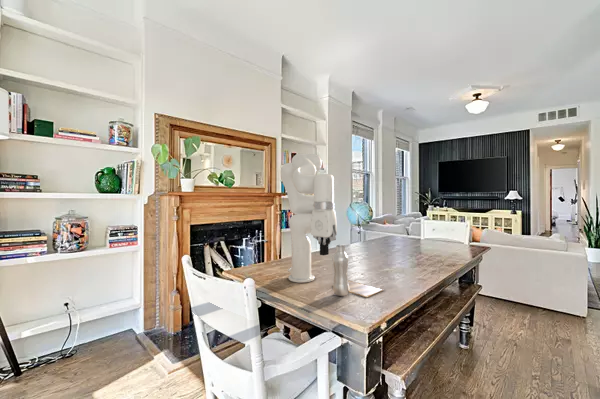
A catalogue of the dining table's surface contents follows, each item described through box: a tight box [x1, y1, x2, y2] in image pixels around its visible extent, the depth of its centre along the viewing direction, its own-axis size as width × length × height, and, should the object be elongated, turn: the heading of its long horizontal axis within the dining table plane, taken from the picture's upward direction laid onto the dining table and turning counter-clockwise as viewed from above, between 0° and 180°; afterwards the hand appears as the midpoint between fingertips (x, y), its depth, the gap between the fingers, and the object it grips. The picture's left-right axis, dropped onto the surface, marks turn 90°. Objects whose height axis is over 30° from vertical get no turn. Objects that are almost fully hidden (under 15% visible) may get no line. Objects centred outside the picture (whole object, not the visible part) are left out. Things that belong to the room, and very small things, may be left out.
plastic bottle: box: [332, 244, 350, 297], centre depth 115 cm, size 6×7×20 cm
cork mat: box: [332, 279, 384, 298], centre depth 122 cm, size 18×12×1 cm, turn 42°
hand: (324, 254), depth 108 cm, fingers closed
